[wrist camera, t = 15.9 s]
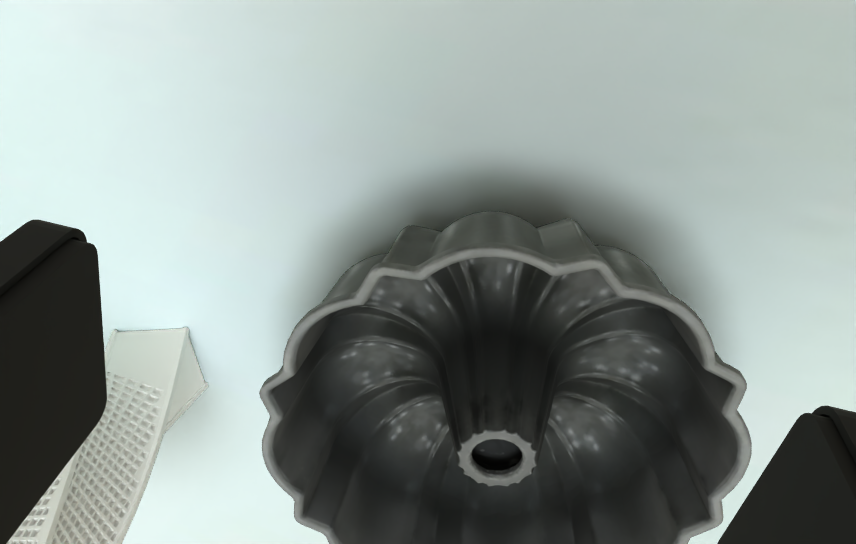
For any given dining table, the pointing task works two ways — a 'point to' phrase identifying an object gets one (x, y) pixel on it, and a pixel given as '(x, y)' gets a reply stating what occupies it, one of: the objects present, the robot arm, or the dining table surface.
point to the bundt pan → (504, 397)
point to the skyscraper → (119, 441)
